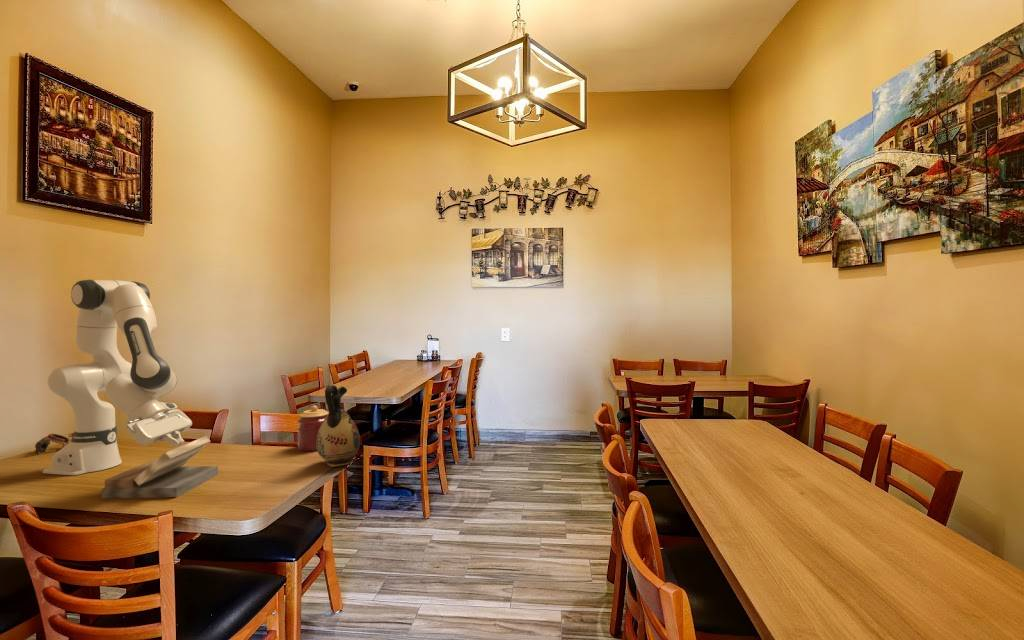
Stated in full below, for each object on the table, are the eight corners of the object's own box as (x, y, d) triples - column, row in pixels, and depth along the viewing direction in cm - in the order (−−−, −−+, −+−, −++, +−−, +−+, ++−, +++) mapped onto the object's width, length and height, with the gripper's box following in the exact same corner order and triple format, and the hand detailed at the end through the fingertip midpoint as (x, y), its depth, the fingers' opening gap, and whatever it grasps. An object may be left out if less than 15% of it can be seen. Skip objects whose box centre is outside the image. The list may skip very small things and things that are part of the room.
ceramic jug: (329, 456, 181) (328, 380, 181) (367, 457, 180) (365, 380, 179) (305, 471, 164) (304, 387, 164) (347, 472, 163) (345, 387, 162)
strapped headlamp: (41, 450, 196) (55, 432, 198) (64, 459, 197) (77, 440, 200) (20, 451, 184) (35, 431, 187) (44, 460, 186) (59, 441, 188)
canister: (326, 441, 203) (325, 401, 203) (335, 447, 193) (334, 405, 193) (294, 446, 195) (293, 405, 195) (302, 453, 185) (301, 410, 185)
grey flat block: (102, 498, 142) (101, 480, 142) (152, 475, 162) (152, 459, 162) (176, 497, 142) (176, 479, 142) (217, 474, 162) (217, 458, 162)
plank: (139, 485, 142) (133, 479, 142) (182, 465, 161) (178, 459, 161) (170, 458, 142) (165, 452, 142) (210, 441, 161) (206, 435, 161)
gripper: (129, 415, 141) (162, 446, 141) (178, 402, 162) (206, 429, 162) (115, 430, 141) (148, 461, 141) (165, 415, 162) (194, 442, 162)
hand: (180, 444), depth 152 cm, fingers closed
